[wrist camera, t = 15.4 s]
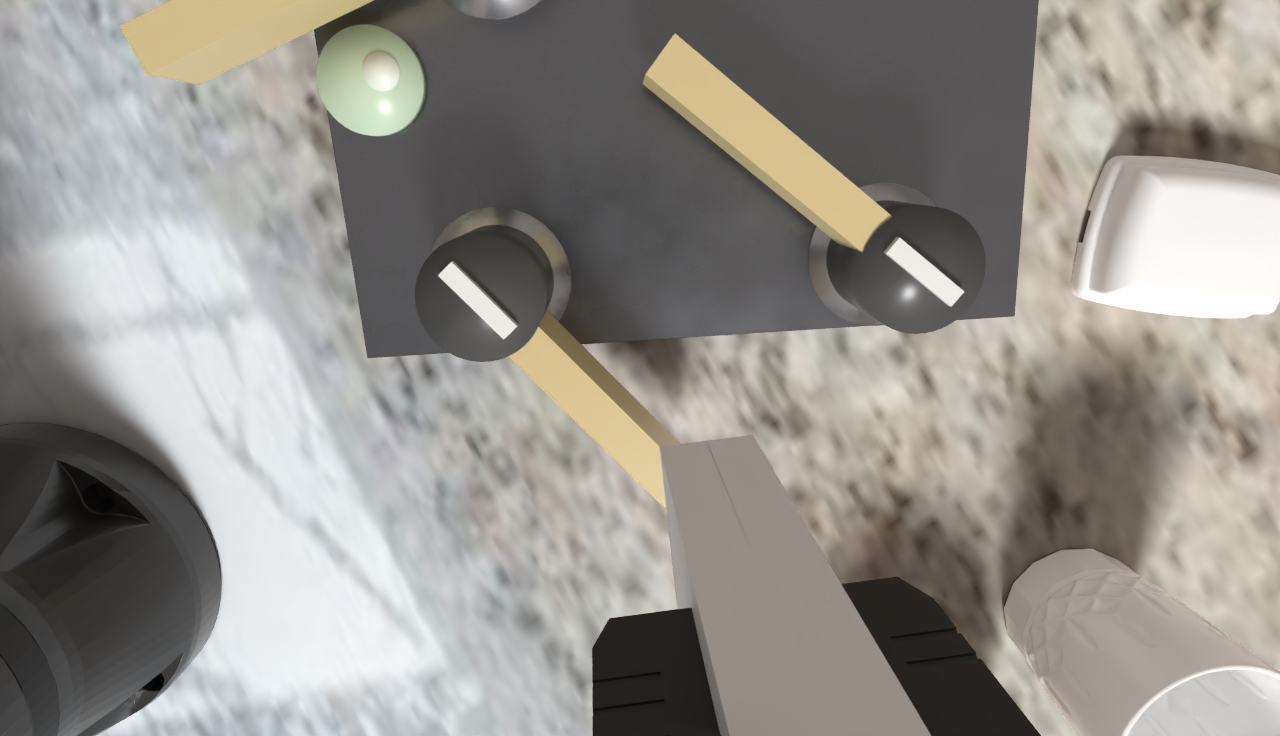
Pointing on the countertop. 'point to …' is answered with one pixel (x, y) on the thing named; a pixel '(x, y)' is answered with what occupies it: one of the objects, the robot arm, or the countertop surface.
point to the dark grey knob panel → (681, 153)
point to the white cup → (1134, 654)
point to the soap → (1182, 238)
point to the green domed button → (371, 80)
